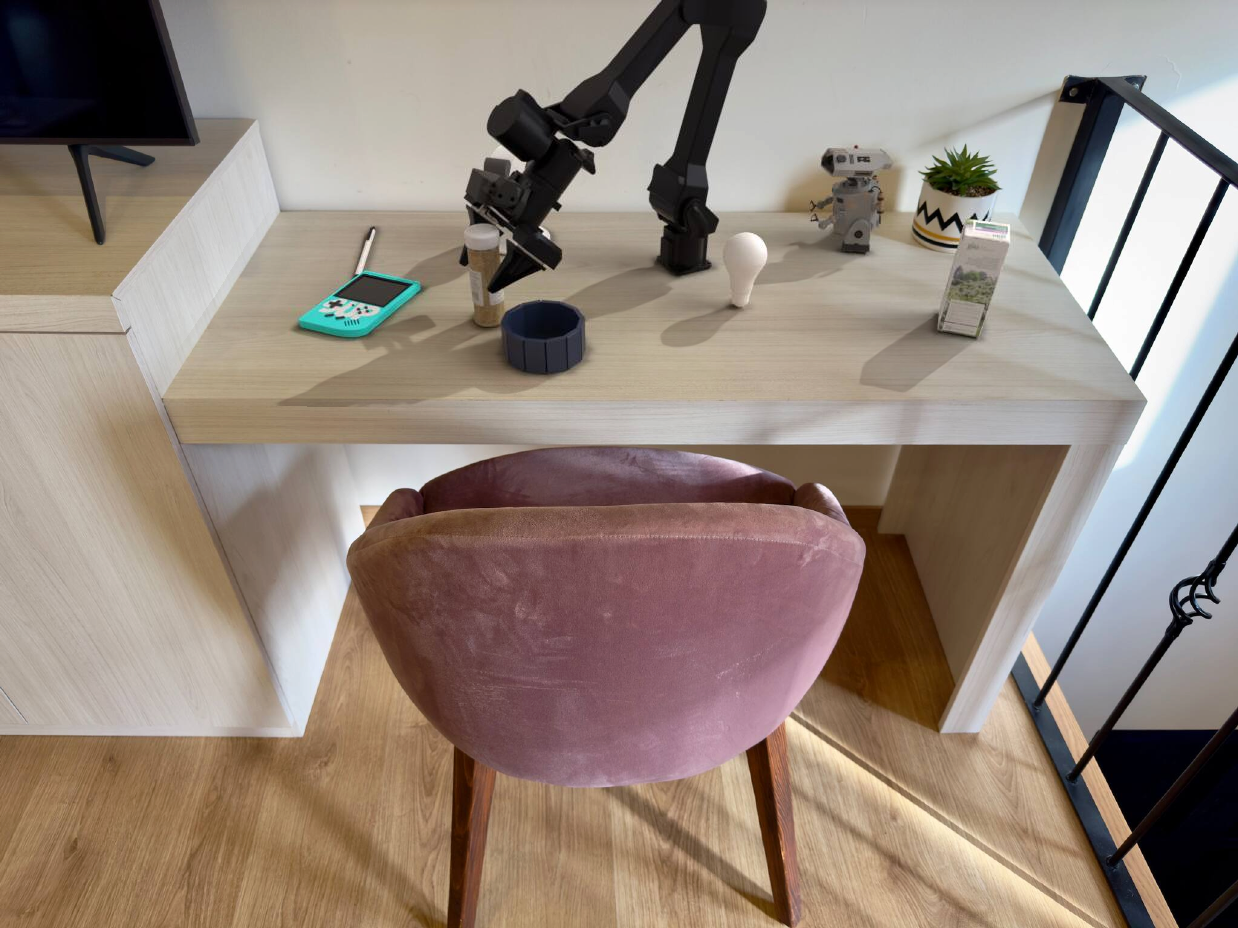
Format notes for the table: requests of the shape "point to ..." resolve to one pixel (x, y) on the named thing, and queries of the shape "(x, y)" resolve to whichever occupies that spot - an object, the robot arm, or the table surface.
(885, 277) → the table surface
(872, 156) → the figurine
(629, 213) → the table surface
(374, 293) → the handheld game console
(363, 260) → the pen
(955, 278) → the syrup box
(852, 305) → the table surface
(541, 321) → the pot
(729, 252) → the lightbulb
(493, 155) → the panda figurine
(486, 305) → the sprinkles bottle
